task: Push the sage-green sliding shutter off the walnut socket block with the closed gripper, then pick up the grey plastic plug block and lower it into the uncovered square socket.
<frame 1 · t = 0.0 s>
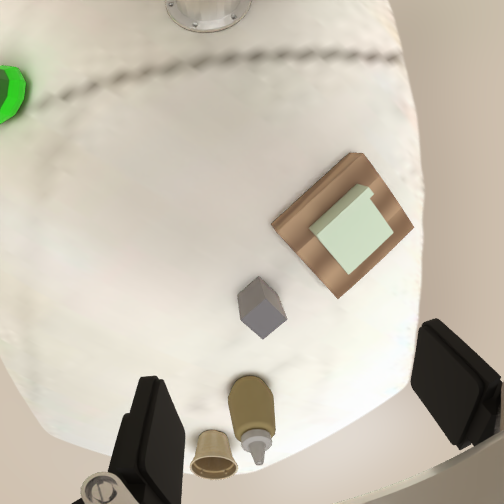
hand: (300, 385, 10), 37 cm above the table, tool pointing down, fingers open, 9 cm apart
plastic bottle: (13, 96, 36), on the table
plug: (257, 294, 50), on the table
flower pot: (213, 437, 60), on the table
squeeze bottle: (248, 386, 56), on the table
shutter: (357, 232, 41), point 7 cm above the table, slide at 0.0 cm
socket: (339, 221, 48), on the table
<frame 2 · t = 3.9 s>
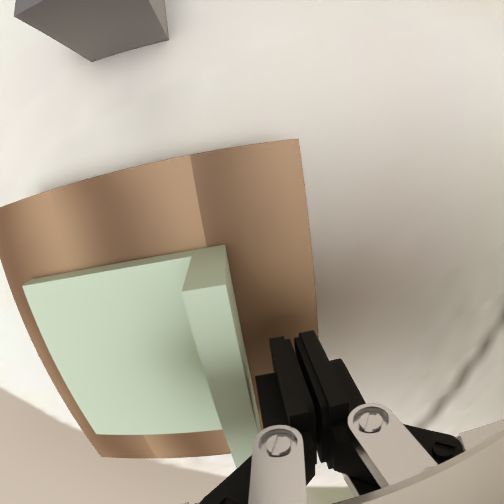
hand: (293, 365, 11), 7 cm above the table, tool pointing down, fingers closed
plug: (126, 17, 13), on the table
shutter: (136, 383, 11), point 7 cm above the table, slide at 0.8 cm, touching gripper
socket: (175, 304, 18), on the table
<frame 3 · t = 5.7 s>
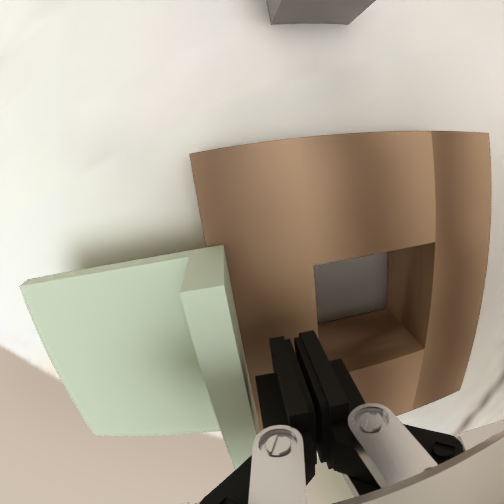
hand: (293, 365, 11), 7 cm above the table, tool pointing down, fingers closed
shutter: (134, 384, 11), point 7 cm above the table, slide at 10.8 cm, touching gripper
socket: (343, 275, 18), on the table
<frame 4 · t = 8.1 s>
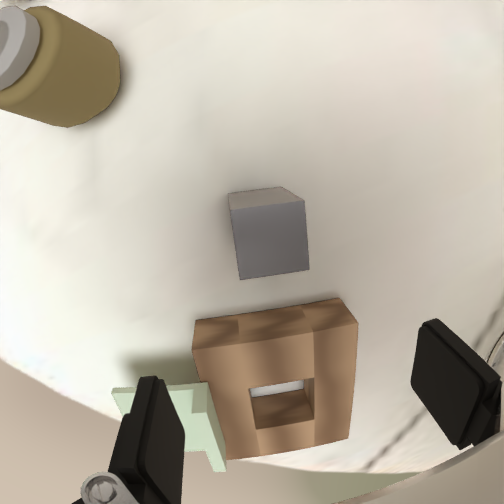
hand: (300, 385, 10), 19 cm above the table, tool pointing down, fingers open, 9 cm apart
plug: (257, 216, 27), on the table
squeeze bottle: (91, 86, 23), on the table
shutter: (169, 433, 25), point 7 cm above the table, slide at 10.9 cm
socket: (275, 374, 32), on the table
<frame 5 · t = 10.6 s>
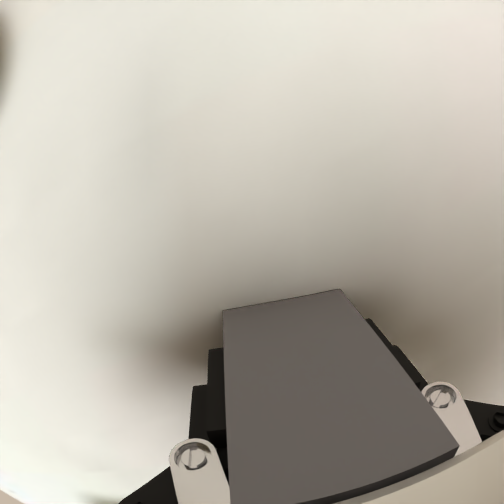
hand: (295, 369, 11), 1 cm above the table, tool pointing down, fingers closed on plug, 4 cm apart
plug: (288, 348, 13), on the table, touching gripper
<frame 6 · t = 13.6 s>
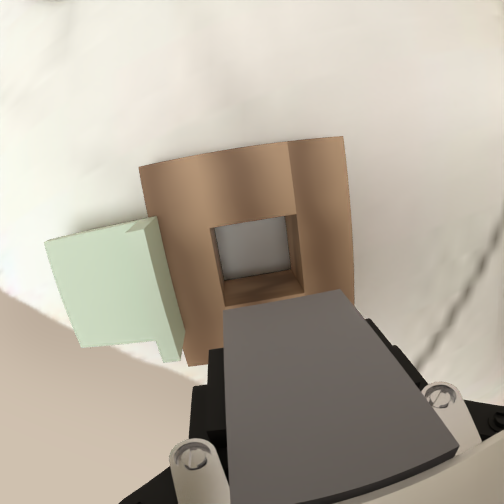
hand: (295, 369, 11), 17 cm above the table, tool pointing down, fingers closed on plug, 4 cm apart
plug: (288, 348, 13), point 16 cm above the table, touching gripper
shutter: (106, 297, 20), point 7 cm above the table, slide at 10.9 cm
socket: (252, 242, 27), on the table
when the fingers open (6 cm above the table, at t = 16.5 s): plug drops 4 cm, resting in socket.
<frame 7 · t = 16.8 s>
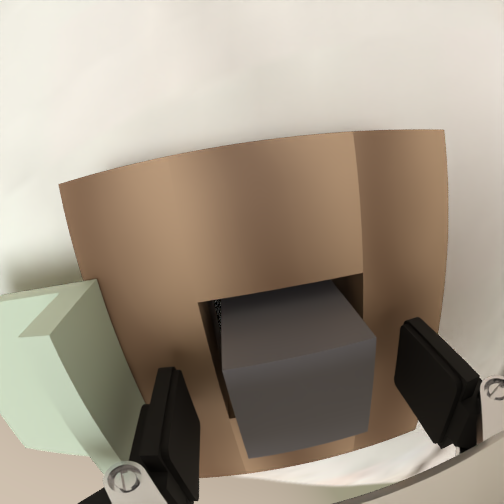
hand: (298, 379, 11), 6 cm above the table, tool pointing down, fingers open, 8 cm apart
plug: (271, 301, 17), resting in socket
shutter: (33, 409, 10), point 7 cm above the table, slide at 10.9 cm
socket: (272, 301, 17), on the table
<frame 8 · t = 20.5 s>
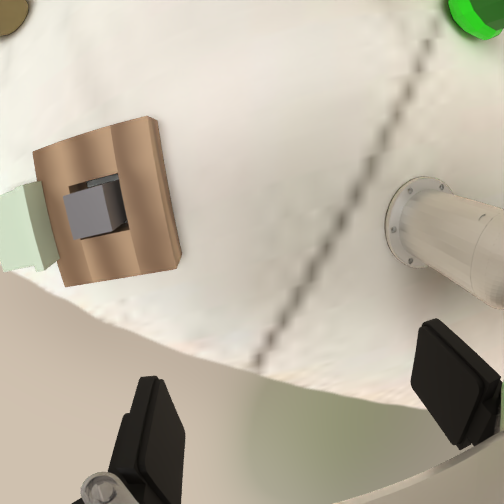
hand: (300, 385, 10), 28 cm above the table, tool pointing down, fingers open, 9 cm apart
plastic bottle: (461, 16, 30), on the table
plug: (112, 200, 35), resting in socket
squeeze bottle: (14, 18, 25), on the table
shutter: (12, 232, 28), point 7 cm above the table, slide at 10.9 cm
socket: (112, 200, 35), on the table
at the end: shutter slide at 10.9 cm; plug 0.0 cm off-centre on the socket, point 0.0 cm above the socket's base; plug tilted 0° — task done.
